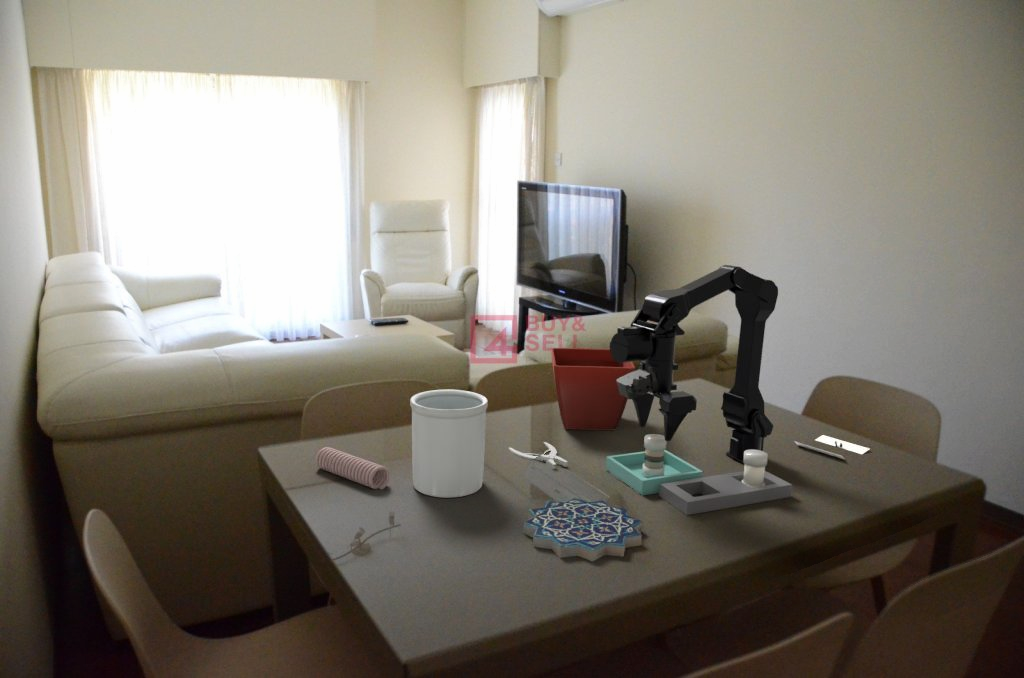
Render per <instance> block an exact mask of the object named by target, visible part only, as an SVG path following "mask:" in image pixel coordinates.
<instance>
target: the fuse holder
mask: <svg viewBox="0 0 1024 678" xmlns="http://www.w3.org/2000/svg"><path fill="white" fill-rule="evenodd" d="M743 478H744V470H742V471H737V472H729V473H723V474H717V475H710V476H703V478H696V479H690V480H683V481H677V482H670V483H664V484H660V493H658V494H659V497H660V498H661V499H662V500H664V501H665V502H667V503H668V504H670V505H671V506H673V507H674V508H675V509H677V510H679V511H680V512H682V513H683V514H685V515H686V516H689V515H694V514H701V513H706V512H713V511H718V510H722V509H728V508H729V509H730V508H734V507H739V506H740V507H741V506H746V505H753V504H757V503H763V502H768V501H774V500H775V501H776V500H780V499H786V498H791V497H792V489H793V484H792V483H791V482H790V483H789V482H788V481H786V480H784V479H782V478H780V477H778V476H777V475H774V474H772V473H770V472H768V471H766V470H765V473H764V483H765V486H758V487H752V488H751V487H749V486H747V485H746V484H744V483H742V480H743ZM698 494H701V495H700V496H693V495H698Z"/></svg>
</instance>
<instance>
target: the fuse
mask: <svg viewBox="0 0 1024 678" xmlns="http://www.w3.org/2000/svg"><path fill="white" fill-rule="evenodd" d="M768 457H769V454H768V453H767V452H766V451H764V450H763V451H760V450H753V449H751V450H745V451H744V459H743V463H742V464H744V468H743V469H744V470H743V471H744V478H743V480H742V483H744V484H746V485H747V486H749V487H751V488H752V487H758V486H765V483H764V473H765V471H766V467H767V465H768Z"/></svg>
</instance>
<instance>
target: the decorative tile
mask: <svg viewBox="0 0 1024 678" xmlns="http://www.w3.org/2000/svg"><path fill="white" fill-rule="evenodd" d="M522 524H523V528H522V529H523V532H522V533H523V534H524V535H526V536H528V537H531V538H533V539H532V540H533V541H532V542H533V544H532V545H533V548H538V549H539V548H540V549H547V550H552V551H553V552H554V554H555V555H556V556H557V557H558V558H561V559H562V558H568V557H576V556H577V557H580V558H582V559H585V560H588V561H590V562H595V561H596V560H598V559H600V558H602V557H603V556H613V557H624V556H625V551H626V548H632V547H637V546H641V545H642V538H643V537H642V536H643V535H642V531H643V530H642V529H643V520H641V519H638V518H636V517H632V516H630V515H628V510H627V508H625V507H624V508H623V507H622V508H621V507H616V506H611V505H610V504H608V503H607V502H606V501H605V500H591V501H587V500H584V499H581V498H578V497H572V498H570V499H567V500H565V501H556V500H555V501H554V500H547V501H546V503H545V505H544V507H537V508H530V509H528V519H527V520H526V521H524V522H523V523H522Z"/></svg>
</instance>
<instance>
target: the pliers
mask: <svg viewBox="0 0 1024 678" xmlns="http://www.w3.org/2000/svg"><path fill="white" fill-rule="evenodd" d="M543 443H544V444H545V447H546V448H548V449H547V450H545V451H544V452H543V453H542V454H540V457H538V456H533V455H539V454H538V453H531V452H527V453H525V452H521V451H519V450H516V449H515V448H512V447H508V451H510V452H511V453H512V454H513V455H516V456H518V457H520V458H524V459H527V460H532V459H535V458H536V457H538V458H540V459H544V461H545V460H547V462H549V463H550V464H552V465H556V466H557V464H556V463H555V462H558V463H561V464H563V465H568V464H569V463H568V461H567V460H566V459H564V458H563V457H561V456H558V455H556V454H558V451H557V449H556V448H555V446H553V445H552V444H550V443H549V442H547V441H543V442H542V444H543ZM544 444H543V445H544ZM548 451H551V452H548ZM546 452H548V453H549V454H547V453H546ZM545 453H546V454H545ZM544 454H545V455H544ZM554 461H555V462H554Z"/></svg>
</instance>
